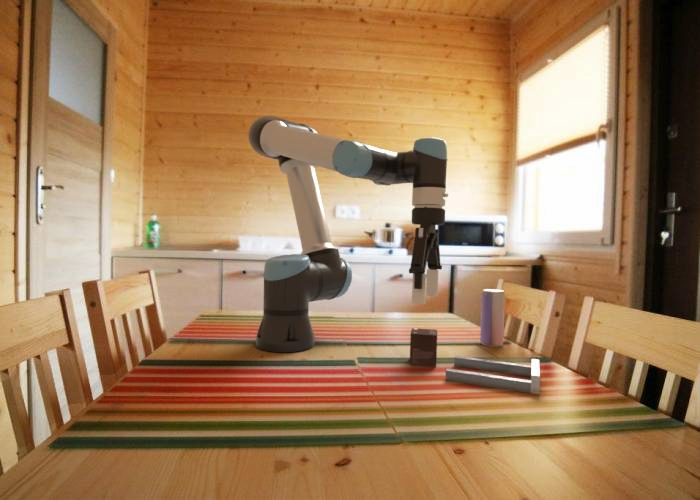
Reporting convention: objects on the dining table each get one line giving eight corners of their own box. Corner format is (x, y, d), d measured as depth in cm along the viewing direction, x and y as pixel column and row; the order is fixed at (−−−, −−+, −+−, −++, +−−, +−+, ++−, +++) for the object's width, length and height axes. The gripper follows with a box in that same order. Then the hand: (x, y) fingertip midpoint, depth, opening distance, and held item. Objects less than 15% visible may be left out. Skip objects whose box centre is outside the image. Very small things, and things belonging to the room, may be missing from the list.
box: (436, 367, 95) (437, 335, 95) (409, 365, 96) (410, 333, 96) (436, 359, 101) (437, 329, 101) (410, 357, 102) (411, 327, 102)
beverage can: (479, 345, 115) (481, 290, 114) (481, 340, 120) (482, 288, 120) (502, 348, 112) (504, 292, 112) (503, 343, 118) (505, 289, 117)
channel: (445, 380, 86) (445, 363, 86) (455, 364, 98) (455, 349, 97) (539, 394, 80) (540, 376, 79) (538, 375, 91) (539, 359, 90)
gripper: (433, 203, 84) (430, 309, 85) (454, 210, 107) (451, 294, 108) (397, 203, 87) (394, 306, 88) (424, 210, 110) (422, 292, 111)
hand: (425, 299), depth 98 cm, fingers open, 13 cm apart
